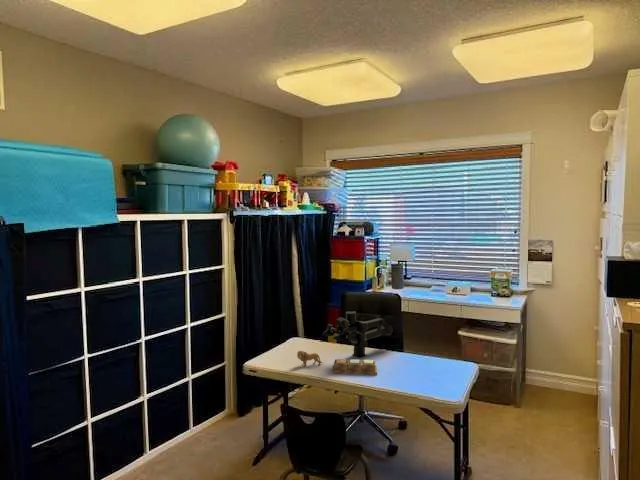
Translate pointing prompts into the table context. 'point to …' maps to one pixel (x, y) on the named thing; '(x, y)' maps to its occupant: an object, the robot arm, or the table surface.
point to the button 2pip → (368, 362)
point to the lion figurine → (308, 357)
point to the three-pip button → (341, 361)
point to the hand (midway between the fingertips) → (327, 336)
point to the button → (354, 361)
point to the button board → (355, 368)
